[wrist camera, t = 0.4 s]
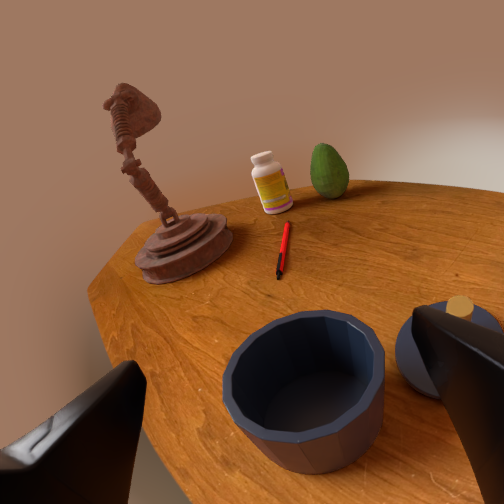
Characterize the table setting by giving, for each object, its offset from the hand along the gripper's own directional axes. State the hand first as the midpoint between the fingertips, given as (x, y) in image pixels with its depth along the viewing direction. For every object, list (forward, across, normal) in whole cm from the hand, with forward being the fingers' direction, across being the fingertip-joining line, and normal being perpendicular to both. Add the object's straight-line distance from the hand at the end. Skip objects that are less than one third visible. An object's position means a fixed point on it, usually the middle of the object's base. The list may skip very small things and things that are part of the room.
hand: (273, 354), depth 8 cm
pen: (+38, -2, +11) cm, 40 cm away
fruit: (+53, -15, +8) cm, 55 cm away
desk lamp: (+50, +18, +12) cm, 54 cm away
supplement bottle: (+56, -3, +8) cm, 57 cm away
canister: (+7, -2, +14) cm, 16 cm away
